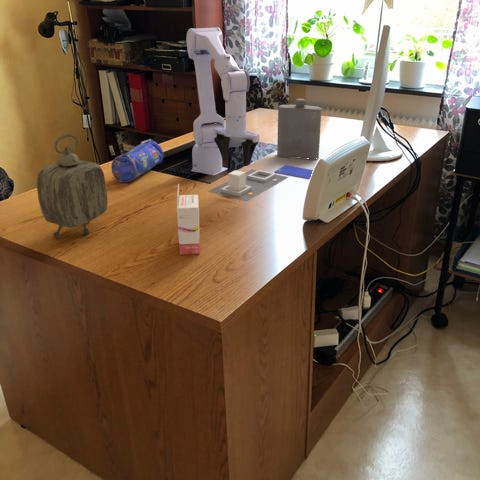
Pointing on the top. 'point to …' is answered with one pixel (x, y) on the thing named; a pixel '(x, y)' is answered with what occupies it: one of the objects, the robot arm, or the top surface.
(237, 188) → the plug
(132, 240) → the top surface
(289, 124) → the flask
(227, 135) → the robot arm
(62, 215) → the tabletop clock
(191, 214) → the ink cartridge box
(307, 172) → the hard drive
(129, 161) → the pencil case
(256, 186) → the port panel
